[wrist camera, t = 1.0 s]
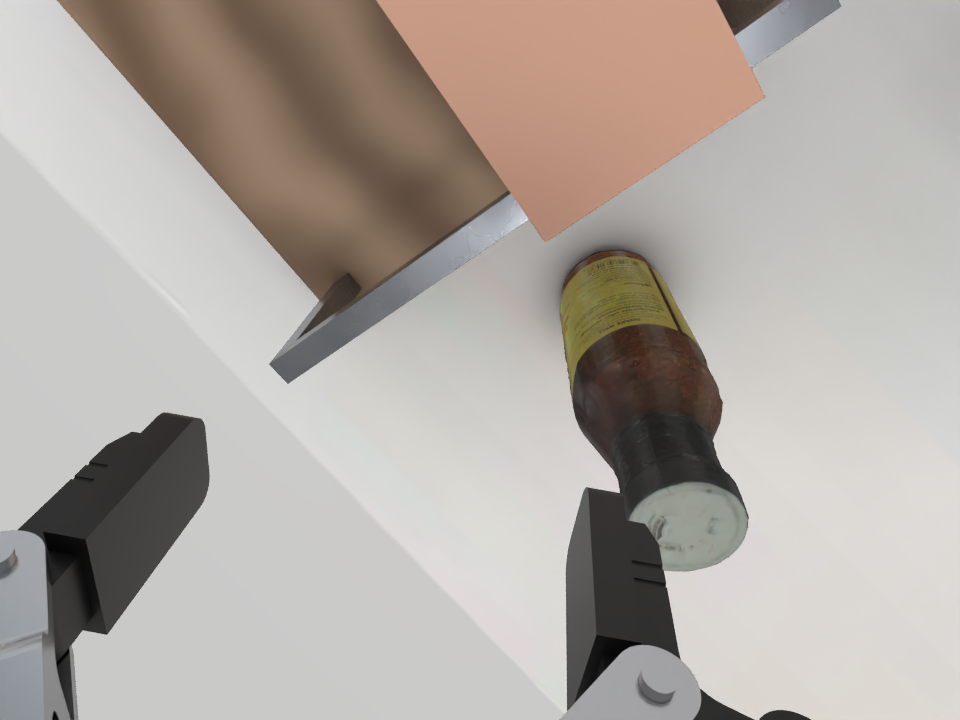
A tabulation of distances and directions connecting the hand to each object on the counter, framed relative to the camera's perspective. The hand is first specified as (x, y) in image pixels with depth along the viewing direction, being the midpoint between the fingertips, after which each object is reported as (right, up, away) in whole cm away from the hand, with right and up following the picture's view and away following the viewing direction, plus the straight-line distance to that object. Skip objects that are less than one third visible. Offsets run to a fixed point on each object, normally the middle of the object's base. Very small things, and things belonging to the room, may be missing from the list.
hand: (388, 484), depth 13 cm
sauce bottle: (+10, +7, +25) cm, 28 cm away
